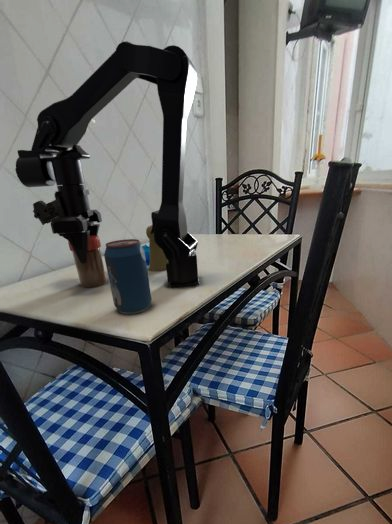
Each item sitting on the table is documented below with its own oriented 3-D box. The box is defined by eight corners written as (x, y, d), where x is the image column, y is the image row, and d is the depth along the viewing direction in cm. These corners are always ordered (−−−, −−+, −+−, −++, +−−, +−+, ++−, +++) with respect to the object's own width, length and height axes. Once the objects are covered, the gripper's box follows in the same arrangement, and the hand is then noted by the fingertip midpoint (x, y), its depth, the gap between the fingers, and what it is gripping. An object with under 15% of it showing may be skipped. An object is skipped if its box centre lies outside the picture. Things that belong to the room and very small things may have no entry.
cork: (168, 270, 82) (163, 226, 77) (146, 270, 83) (140, 227, 78) (174, 264, 87) (169, 222, 82) (153, 265, 89) (148, 223, 83)
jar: (109, 278, 79) (100, 237, 74) (104, 286, 74) (94, 241, 69) (84, 281, 79) (74, 239, 74) (77, 288, 73) (66, 244, 69)
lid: (75, 246, 75) (72, 236, 74) (103, 244, 75) (101, 234, 74) (66, 252, 69) (63, 241, 68) (97, 250, 69) (95, 239, 68)
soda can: (157, 302, 61) (148, 237, 55) (144, 315, 55) (133, 245, 49) (125, 301, 63) (113, 239, 57) (109, 314, 57) (94, 246, 51)
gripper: (48, 186, 74) (65, 253, 81) (12, 188, 58) (37, 272, 65) (95, 183, 74) (107, 251, 82) (73, 184, 58) (91, 269, 65)
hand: (87, 259), depth 73 cm, fingers closed on lid, 6 cm apart
